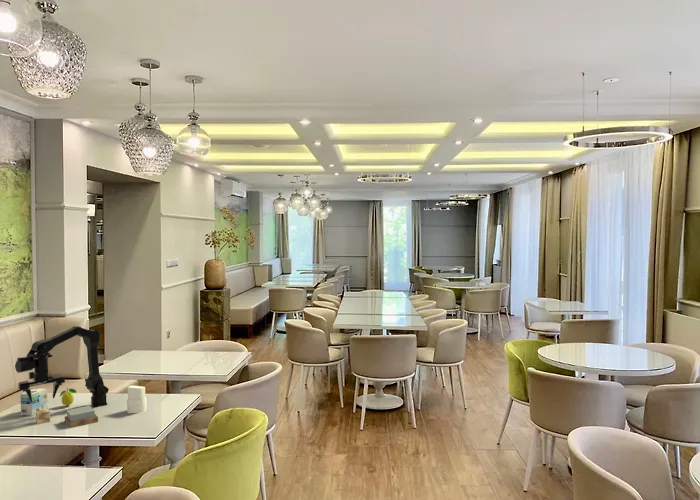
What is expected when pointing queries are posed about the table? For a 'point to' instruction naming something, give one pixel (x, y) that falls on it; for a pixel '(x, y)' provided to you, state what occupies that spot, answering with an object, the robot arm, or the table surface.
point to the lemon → (67, 396)
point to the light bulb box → (34, 401)
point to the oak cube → (42, 416)
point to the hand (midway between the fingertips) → (42, 400)
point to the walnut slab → (80, 421)
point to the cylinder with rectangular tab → (136, 399)
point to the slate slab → (80, 413)
